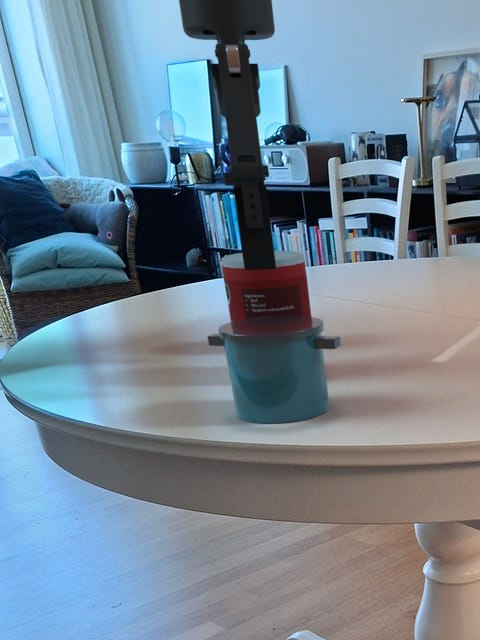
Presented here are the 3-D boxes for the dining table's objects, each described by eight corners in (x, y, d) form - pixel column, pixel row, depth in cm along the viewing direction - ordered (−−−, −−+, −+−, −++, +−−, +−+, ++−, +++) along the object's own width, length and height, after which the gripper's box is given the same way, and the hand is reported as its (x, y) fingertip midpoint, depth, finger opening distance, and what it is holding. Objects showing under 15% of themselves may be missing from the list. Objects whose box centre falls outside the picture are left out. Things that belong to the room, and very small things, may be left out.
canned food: (279, 362, 92) (263, 249, 87) (334, 370, 88) (321, 252, 83) (222, 377, 87) (202, 258, 81) (279, 387, 83) (261, 262, 77)
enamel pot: (324, 427, 71) (313, 336, 67) (198, 421, 74) (181, 333, 70) (363, 399, 78) (355, 316, 75) (246, 395, 81) (233, 314, 77)
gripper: (273, -46, 62) (307, 275, 73) (266, 0, 83) (293, 244, 94) (163, -48, 60) (214, 280, 71) (184, -1, 82) (221, 246, 92)
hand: (259, 260), depth 82 cm, fingers open, 13 cm apart
